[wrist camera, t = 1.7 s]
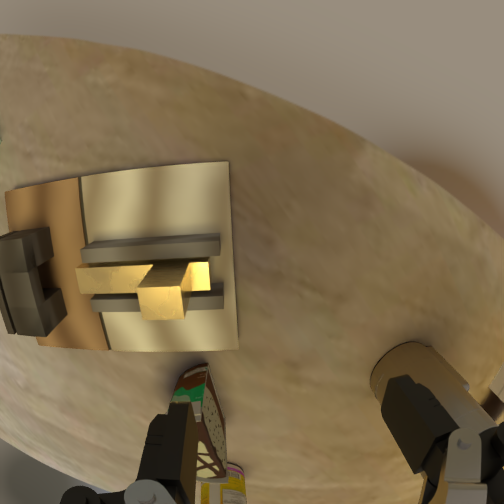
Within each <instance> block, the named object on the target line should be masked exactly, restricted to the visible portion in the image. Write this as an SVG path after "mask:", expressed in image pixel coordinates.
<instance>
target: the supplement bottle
mask: <svg viewBox="0 0 504 504" xmlns="http://www.w3.org/2000/svg"><path fill="white" fill-rule="evenodd" d="M227 469H228V471H229V480H228V483H224V484H216V483H205V482H201V504H247V501H246V490H245V479H244V473H243V471H242V470H241V469H240V468H239V467H237V466H235V465H232V464H227Z"/></svg>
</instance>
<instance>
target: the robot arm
mask: <svg viewBox="0 0 504 504" xmlns="http://www.w3.org/2000/svg"><path fill="white" fill-rule="evenodd" d="M370 385H371V389H372V391H373V393H374V394H375V396H376V398H377V399H378V401H379V403H380V404H381V413H382V417H383V419H384V421H385V423H386V425H387V426H388V428H389V430H390V432H391V433H392V435H393V437H394V439H395V441H396V442H397V444H398V446H399V448H400V449H401V451H402V453H403V455H404V457H405V459H406V460H407V462H408V464H409V466H410V468H411V469H412V471H413V473H414V475H415V474H417V473H421V475H422V477H423V479H424V481H423V486H422V490H421V494H420V498H419V502H418V504H504V470H503V468H502V467H503V466H504V422H502V423H500V424H499V426H498V425H497V424H496V423H495V421H494V420H493V419H492V418H491V417H490V416H489V415H488V414H487V412H486V411H485V410H484V409H483V408H482V407H481V406H480V405H479V404H478V403H477V401H476V400H475V399H474V398H473V397H472V396H471V395H470V394H469V393H468V390H469V384H468V383H467V382H466V381H465V380H464V379H463V378H462V376H461V375H460V374H459V373H458V372H457V371H456V370H455V369H454V368H453V367H452V366H451V365H450V364H449V363H448V362H447V361H446V360H445V359H444V358H443V357H442V356H441V355H440V354H439V353H438V352H437V351H436V350H435V349H434V348H433V347H432V346H430V347H425V346H424V345H422V344H420V343H417V342H410V343H405V344H402V345H400V346H398V347H396V348H394V349H393V350H391V351H390V352H389V353H387V354H386V355H385V356H384V357H383V358H382V359H381V360H380V361H379V363H378V364H377V365H376V367H375V369H374V371H373V373H372V376H371V381H370ZM197 455H198V428H197V424H196V420H195V415H194V411H193V407H192V403H191V401H171V402H170V405H169V410H168V415H166V414H157V416H156V417H155V418H154V419H153V420H152V422H151V423H150V425H149V429H148V433H147V437H146V441H145V446H144V450H143V454H142V458H141V463H140V467H139V471H138V476H137V479H136V481H135V482H134V483H132V484H130V485H129V486H128V487H127V489H125V490H123V491H120V492H113V493H103V494H97V493H96V492H95V491H94V490H92V489H91V488H89V487H85V486H75V487H72V488H70V489H68V490H67V491H66V492H65V493H64V494H63V496H62V499H61V502H60V504H195V487H196V471H197Z"/></svg>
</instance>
